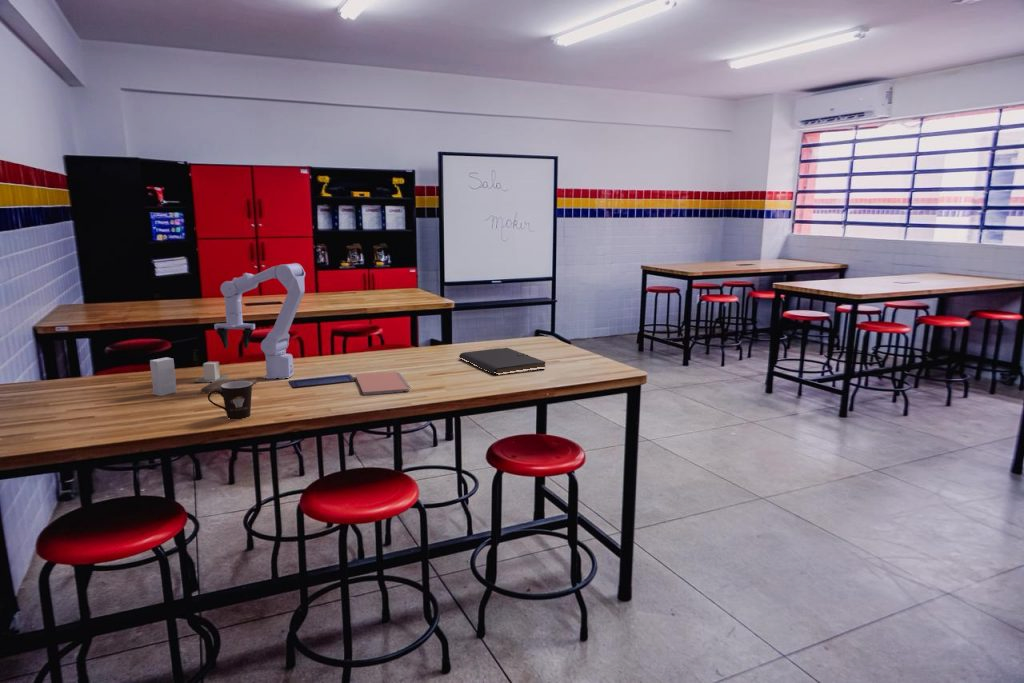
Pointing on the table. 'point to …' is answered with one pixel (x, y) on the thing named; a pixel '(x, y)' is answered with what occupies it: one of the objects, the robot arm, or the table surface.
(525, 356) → the dark hardcover book
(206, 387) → the puzzle board
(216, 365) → the cream block
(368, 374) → the notebook
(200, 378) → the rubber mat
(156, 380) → the skincare box
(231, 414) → the coffee mug
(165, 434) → the table surface
